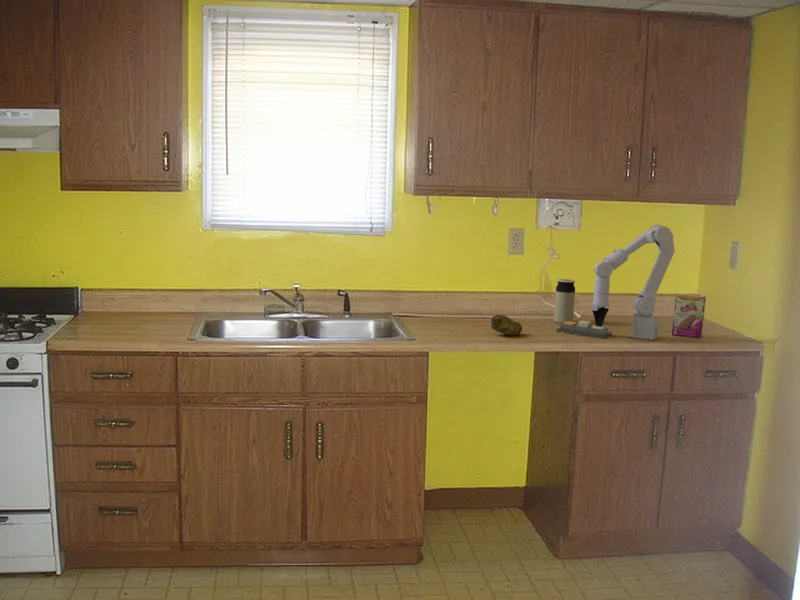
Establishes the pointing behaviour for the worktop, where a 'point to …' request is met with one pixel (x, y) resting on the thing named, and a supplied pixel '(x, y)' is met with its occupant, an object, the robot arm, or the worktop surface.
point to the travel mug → (564, 300)
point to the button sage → (584, 323)
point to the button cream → (599, 327)
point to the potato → (505, 325)
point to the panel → (584, 331)
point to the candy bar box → (688, 315)
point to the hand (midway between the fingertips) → (599, 326)
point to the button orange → (569, 323)
